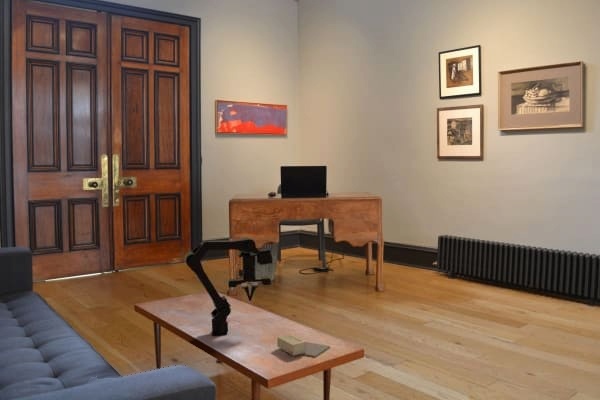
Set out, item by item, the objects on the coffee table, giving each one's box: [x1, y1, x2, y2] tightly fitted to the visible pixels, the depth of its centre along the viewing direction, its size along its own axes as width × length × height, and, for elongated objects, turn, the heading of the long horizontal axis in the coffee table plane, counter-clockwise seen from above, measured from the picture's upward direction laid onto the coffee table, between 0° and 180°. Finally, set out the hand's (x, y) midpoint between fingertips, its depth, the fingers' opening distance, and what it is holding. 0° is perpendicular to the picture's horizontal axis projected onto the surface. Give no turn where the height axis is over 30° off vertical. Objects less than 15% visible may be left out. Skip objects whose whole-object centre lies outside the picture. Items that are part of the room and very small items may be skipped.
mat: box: [284, 341, 331, 358], centre depth 217 cm, size 14×12×1 cm
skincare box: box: [276, 333, 307, 356], centre depth 215 cm, size 6×4×12 cm
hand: (250, 300), depth 244 cm, fingers closed
